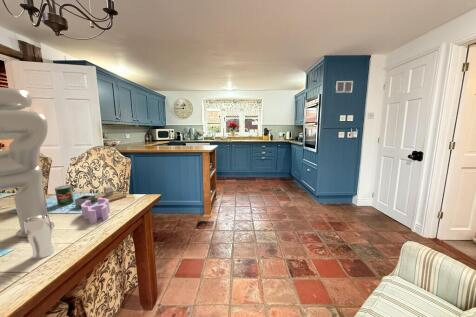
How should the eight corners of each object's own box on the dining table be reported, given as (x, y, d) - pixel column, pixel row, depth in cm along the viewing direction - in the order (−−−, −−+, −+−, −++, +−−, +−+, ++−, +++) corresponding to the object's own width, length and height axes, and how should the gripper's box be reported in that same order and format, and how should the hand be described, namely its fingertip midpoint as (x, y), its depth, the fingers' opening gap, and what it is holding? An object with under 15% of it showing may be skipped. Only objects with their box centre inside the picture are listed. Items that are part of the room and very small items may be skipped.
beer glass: (60, 248, 81) (54, 213, 78) (44, 259, 74) (37, 222, 71) (42, 248, 81) (35, 213, 78) (25, 260, 74) (16, 222, 71)
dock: (126, 196, 137) (125, 186, 135) (103, 203, 125) (102, 192, 124) (113, 192, 147) (112, 182, 145) (91, 198, 135) (90, 187, 134)
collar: (95, 203, 127) (94, 195, 126) (86, 207, 120) (85, 199, 119) (85, 202, 127) (84, 195, 126) (75, 207, 120) (74, 199, 119)
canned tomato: (70, 200, 132) (67, 184, 130) (76, 202, 128) (73, 185, 126) (55, 204, 125) (51, 188, 123) (61, 207, 121) (58, 189, 119)
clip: (114, 218, 106) (112, 206, 105) (85, 226, 98) (82, 213, 97) (107, 207, 121) (106, 196, 120) (81, 213, 113) (80, 201, 112)
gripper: (-23, 116, 90) (-14, 153, 93) (31, 116, 104) (37, 149, 107) (-25, 116, 94) (-17, 152, 97) (27, 117, 108) (33, 148, 111)
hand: (12, 150), depth 102 cm, fingers open, 9 cm apart
